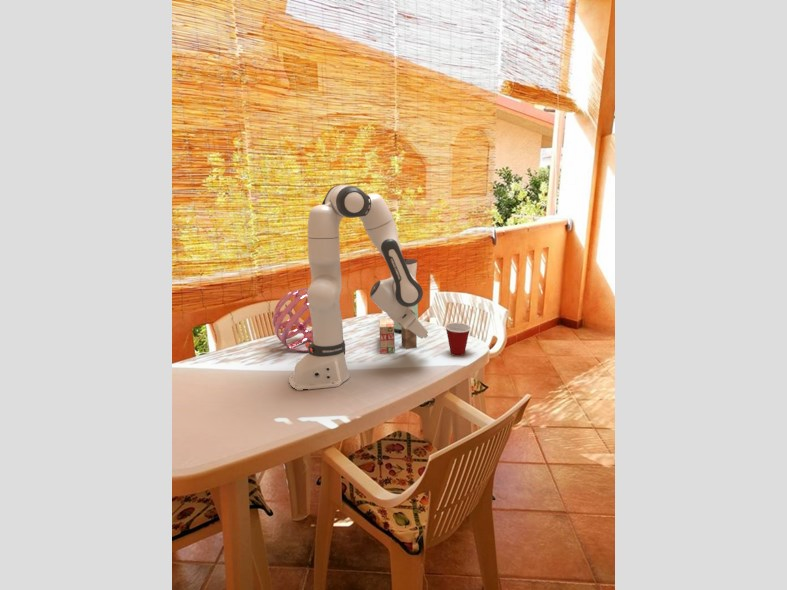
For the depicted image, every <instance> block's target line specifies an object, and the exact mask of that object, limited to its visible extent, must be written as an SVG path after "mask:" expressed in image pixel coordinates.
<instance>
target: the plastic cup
mask: <svg viewBox="0 0 787 590" xmlns="http://www.w3.org/2000/svg"><path fill="white" fill-rule="evenodd" d="M444 328H445V330H446V336H447V340H448V347H449V350H450V354H451V355H452V354H453V356H455V355H461V356H463V355H462V354H464V353H466V348H467V343H468V340H469V338H468V337H469V334H470V331H471V330H472V327H471V325H469V324H466V323H463V322H450V323H446V324H445V325H444ZM464 355H465V354H464Z"/></svg>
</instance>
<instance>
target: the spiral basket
mask: <svg viewBox="0 0 787 590" xmlns="http://www.w3.org/2000/svg"><path fill="white" fill-rule="evenodd" d="M308 288H309V287H307V288H305V287H303V288H299V289H295V290H291V291H289V292H287V293H286V294H285V295H283V296H282V297H281V298H280V299H279V300H278V302H277V303H276V306H275V308H274V313H273V314H272V315H273V317H272V326H273V328H274V333H275V336H276V337H277V338H278V339H279V341H280V343H282V344H283V345H284V346H285V347H286V348H288V349H290V350H291V351H294V352H298V351H305V352H304V353H309V352H308V349H299V348H296V347H293V346H295V345H297V344H299V343H302V342H304V343H307V342H308V341H311V342H312V343H313V331H312V329H311V330H309V329H307V327H308V326H309V325H310V324H312V321H311V316H310V314H309V315H308V316H307V318H306V319H305V320H303V322H300V321H299V319H300V318H301V317H302V316H303V315H304V313H305V312H307V311H309V305H308V299H307V290H308ZM303 291H305V292H303ZM301 292H303V293H301ZM293 296H294V299H293V300H292V301H290V302H289V303H288V305H287V304H286V303H287V302H288V301H289V300H290V299H291V298H292V297H293ZM304 298H305V301H304V302H303V304H302V306H300V308H299V309H298V310H296V311H295V312H294V313H293V312H292V311H293V309H295V307H296V306H297V305H298V303H300V302H301V301H302V300H303V299H304ZM283 306H285V308H284V309H283V310H281V309H282V307H283ZM287 315H288V316H289V318H288V319H287V320H285V321H283V320H284V319H285V318H286V316H287ZM294 325H295V329H294V330H291V329H292V328H293V326H294ZM280 330H282V333H280ZM298 334H303V336H302V337H300V338H299V339H298V340H296V341H294V342H291V343H287V340H288V339H292V338H294V337H295V336H297V335H298ZM292 347H293V348H292Z"/></svg>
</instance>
